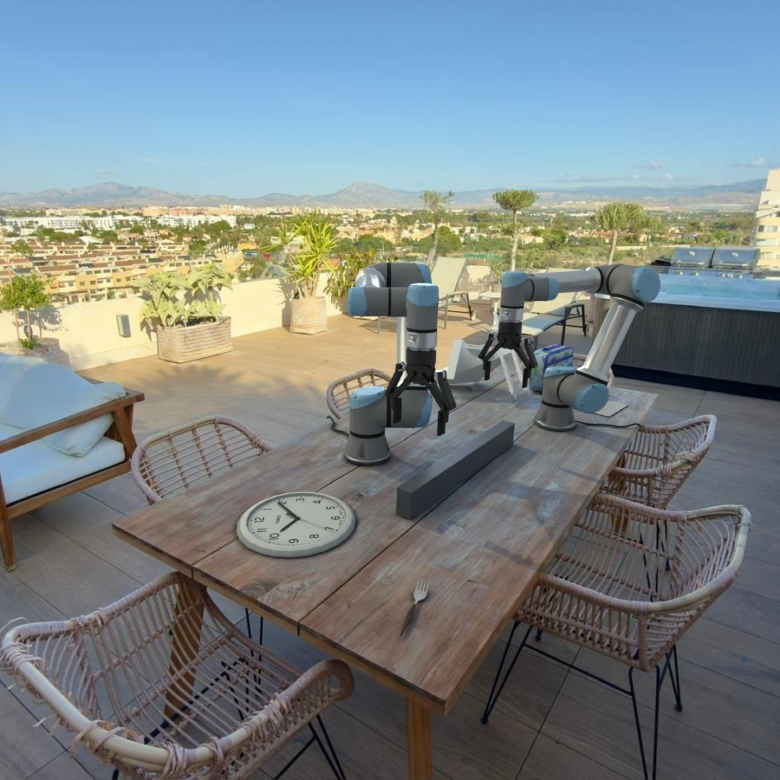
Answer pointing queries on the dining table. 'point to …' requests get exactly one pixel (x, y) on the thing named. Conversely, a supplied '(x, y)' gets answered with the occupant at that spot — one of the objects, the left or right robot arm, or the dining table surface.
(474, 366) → the white plastic object
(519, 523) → the dining table surface
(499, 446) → the post
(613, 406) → the invitation card
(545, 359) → the lunch box
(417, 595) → the fork
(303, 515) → the wall clock
